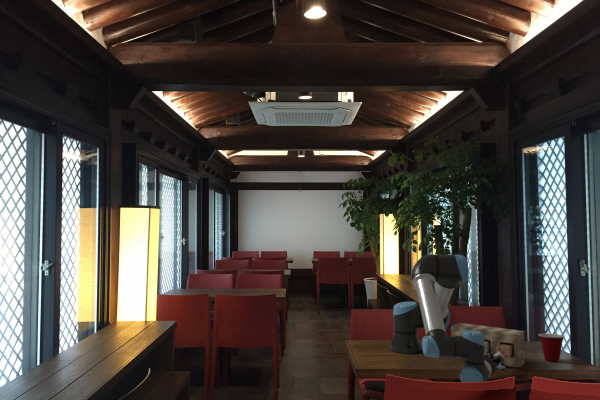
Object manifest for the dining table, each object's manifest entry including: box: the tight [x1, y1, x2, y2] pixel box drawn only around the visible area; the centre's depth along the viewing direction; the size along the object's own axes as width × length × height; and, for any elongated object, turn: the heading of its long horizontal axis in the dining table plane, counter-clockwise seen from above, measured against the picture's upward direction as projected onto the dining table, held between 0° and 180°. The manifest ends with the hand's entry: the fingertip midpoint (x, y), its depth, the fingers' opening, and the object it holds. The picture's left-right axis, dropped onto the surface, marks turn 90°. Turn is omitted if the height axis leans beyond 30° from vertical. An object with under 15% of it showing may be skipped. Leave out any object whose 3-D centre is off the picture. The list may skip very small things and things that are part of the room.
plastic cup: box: [537, 333, 565, 363], centre depth 215 cm, size 11×11×12 cm
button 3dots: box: [497, 344, 513, 359], centre depth 205 cm, size 5×8×5 cm, turn 142°
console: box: [450, 322, 526, 368], centre depth 217 cm, size 30×10×14 cm, turn 52°
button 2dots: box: [484, 341, 489, 355], centre depth 211 cm, size 5×8×5 cm, turn 142°
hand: (499, 355), depth 197 cm, fingers closed
